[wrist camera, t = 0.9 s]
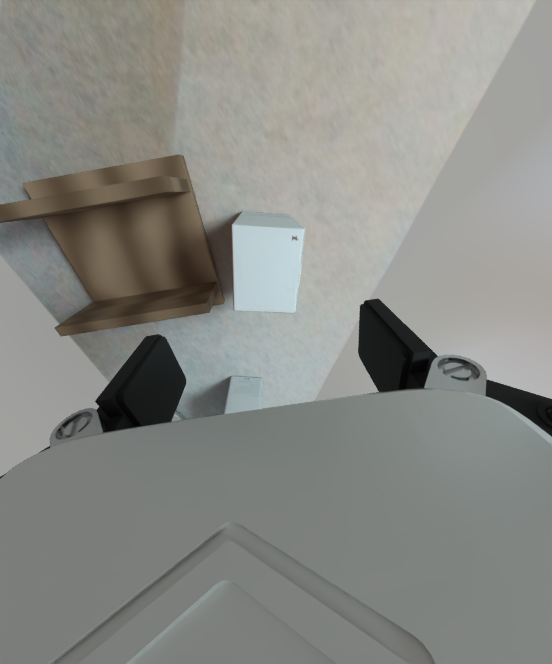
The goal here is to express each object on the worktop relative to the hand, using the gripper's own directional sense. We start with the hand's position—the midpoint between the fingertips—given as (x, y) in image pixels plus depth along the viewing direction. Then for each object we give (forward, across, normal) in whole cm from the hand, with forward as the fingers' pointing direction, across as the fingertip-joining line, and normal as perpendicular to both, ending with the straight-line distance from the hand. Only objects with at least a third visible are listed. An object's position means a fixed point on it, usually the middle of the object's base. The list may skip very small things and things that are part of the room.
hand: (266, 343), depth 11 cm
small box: (+25, 0, 0) cm, 25 cm away
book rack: (+24, +16, -2) cm, 29 cm away
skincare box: (+24, +9, +28) cm, 38 cm away
